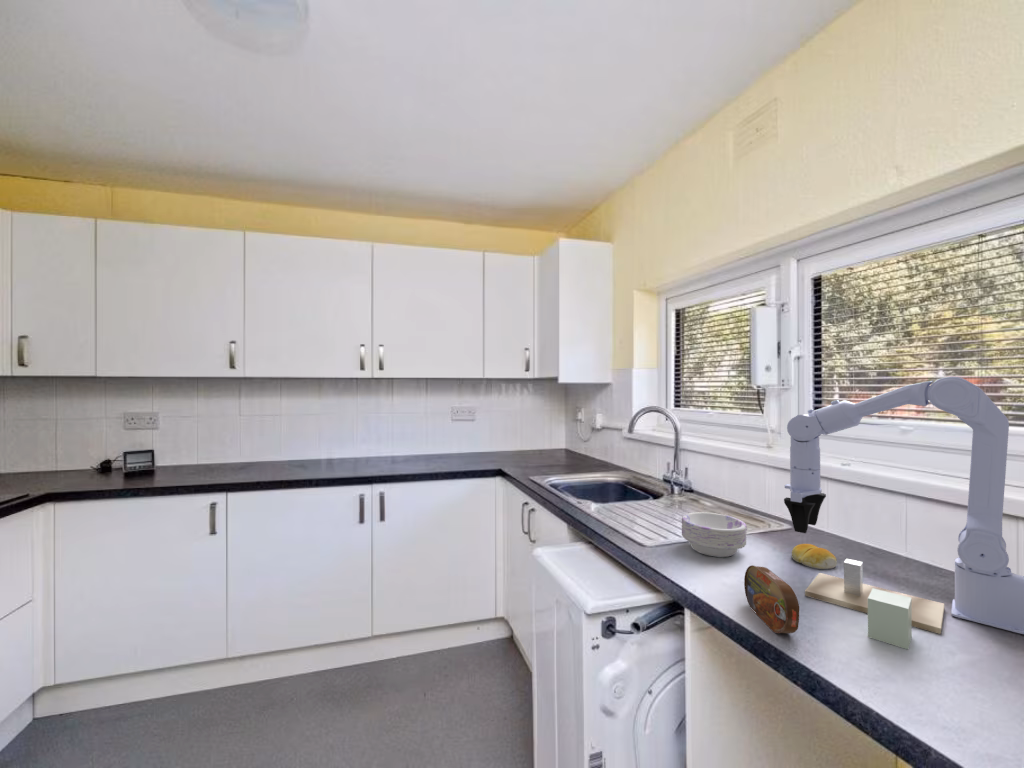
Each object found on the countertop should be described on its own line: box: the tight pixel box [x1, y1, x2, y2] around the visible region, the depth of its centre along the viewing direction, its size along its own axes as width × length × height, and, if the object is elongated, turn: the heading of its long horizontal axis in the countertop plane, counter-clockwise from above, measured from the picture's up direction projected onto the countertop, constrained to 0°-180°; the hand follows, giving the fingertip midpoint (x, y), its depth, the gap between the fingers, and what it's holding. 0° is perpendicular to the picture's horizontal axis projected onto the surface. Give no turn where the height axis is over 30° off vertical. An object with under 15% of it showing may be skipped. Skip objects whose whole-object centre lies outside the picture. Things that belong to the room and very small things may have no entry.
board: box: [804, 572, 945, 635], centre depth 89 cm, size 20×12×1 cm, turn 44°
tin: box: [743, 565, 800, 635], centre depth 83 cm, size 15×3×8 cm, turn 177°
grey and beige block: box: [843, 558, 864, 596], centre depth 91 cm, size 3×3×6 cm
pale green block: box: [867, 588, 913, 650], centre depth 77 cm, size 5×5×7 cm
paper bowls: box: [681, 511, 748, 558], centre depth 117 cm, size 15×15×8 cm
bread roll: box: [791, 543, 838, 570], centre depth 109 cm, size 8×9×4 cm
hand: (805, 528), depth 103 cm, fingers open, 7 cm apart
